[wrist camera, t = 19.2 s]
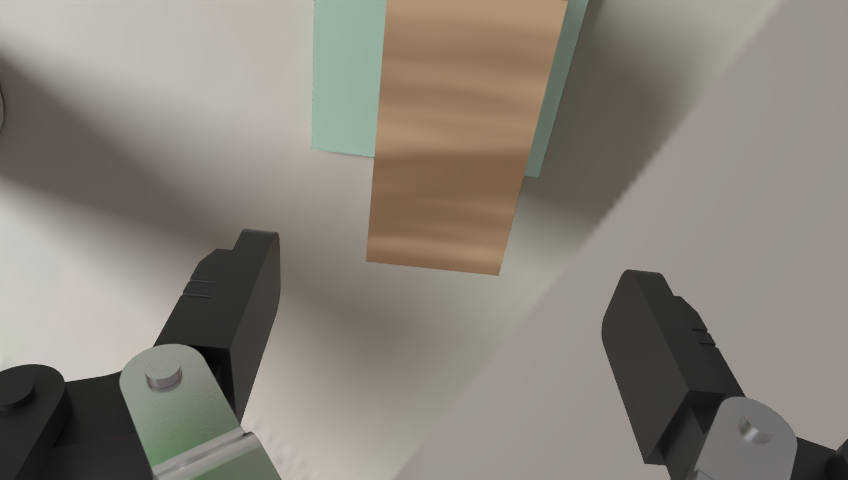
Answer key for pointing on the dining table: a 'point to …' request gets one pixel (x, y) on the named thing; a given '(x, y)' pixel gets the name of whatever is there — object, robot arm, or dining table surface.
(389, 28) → the stool
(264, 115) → the dining table surface
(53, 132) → the dining table surface
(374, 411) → the dining table surface
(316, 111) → the mat
